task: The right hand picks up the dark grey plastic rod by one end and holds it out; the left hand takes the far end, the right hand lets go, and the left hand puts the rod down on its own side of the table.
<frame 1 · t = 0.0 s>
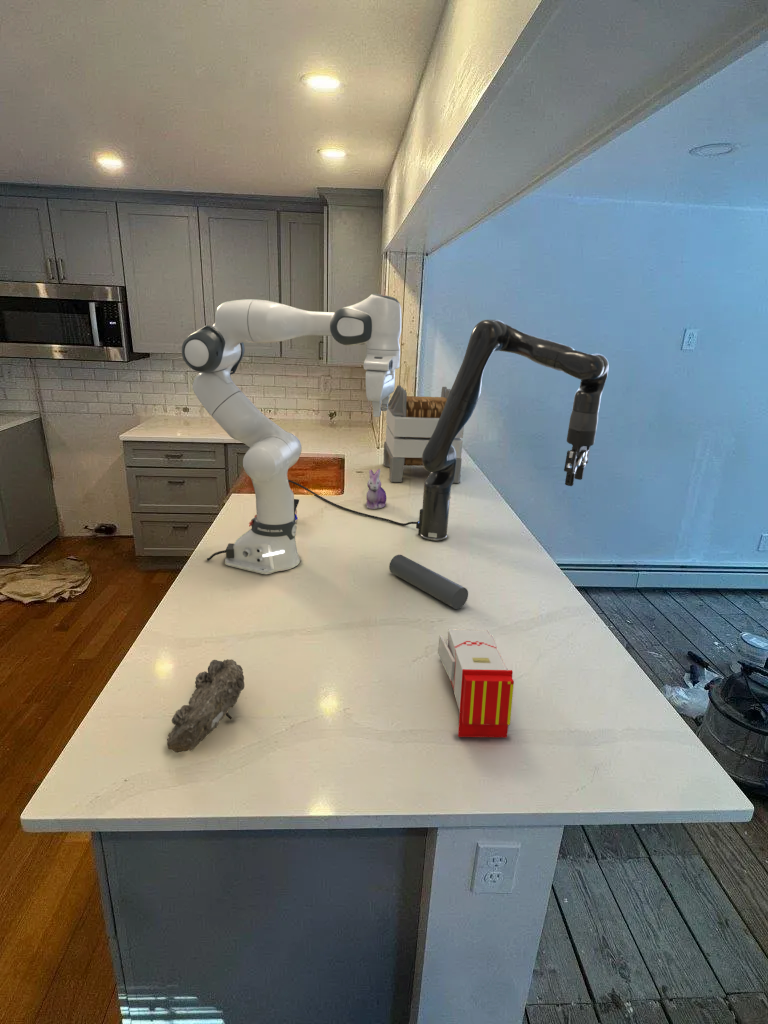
left hand: (380, 413, 153), 48 cm above the counter, tool pointing down, fingers open, 8 cm apart
right hand: (573, 482, 165), 29 cm above the counter, tool pointing down, fingers open, 8 cm apart
figurine: (375, 506, 227), on the counter
fossil: (212, 717, 108), on the counter
rod: (426, 590, 161), on the counter
white crate: (419, 473, 275), on the counter
toy: (469, 691, 119), on the counter
figurine character: (288, 523, 204), on the counter
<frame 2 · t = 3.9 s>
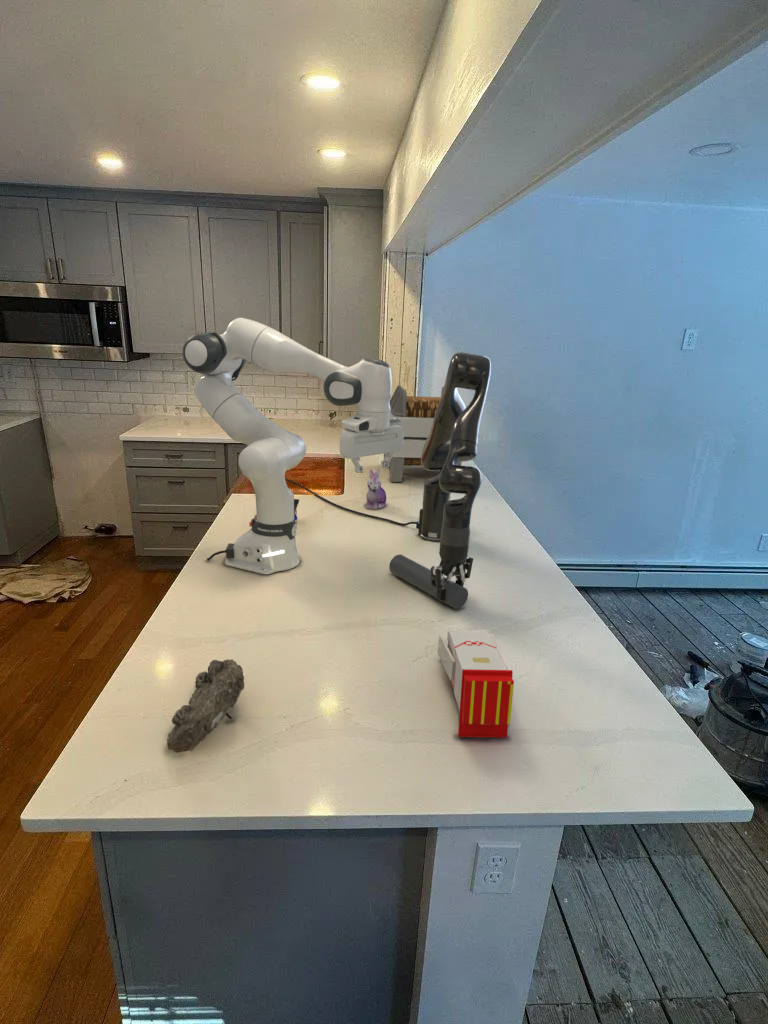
left hand: (372, 469, 158), 32 cm above the counter, tool pointing down, fingers open, 8 cm apart
right hand: (449, 596, 154), 2 cm above the counter, tool pointing down, fingers closed on rod, 6 cm apart
rod: (426, 590, 161), on the counter, touching right hand
everything else where it was.
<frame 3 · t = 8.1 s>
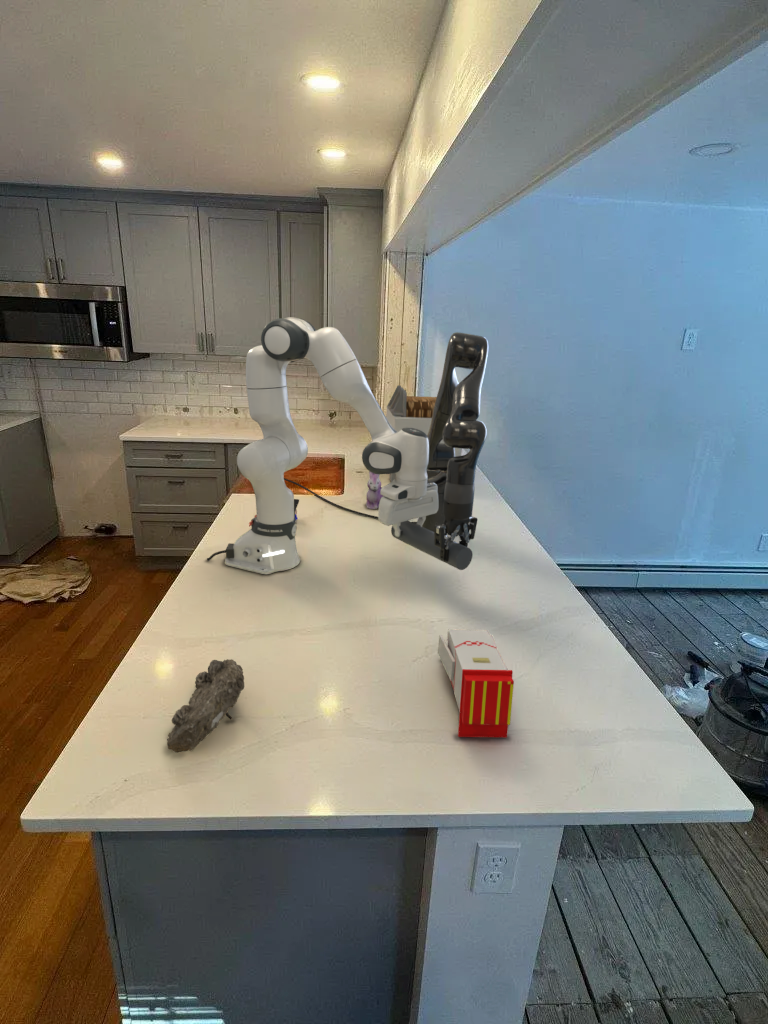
left hand: (408, 533, 162), 14 cm above the counter, tool pointing down, fingers closed on rod, 6 cm apart
right hand: (453, 557, 150), 13 cm above the counter, tool pointing down, fingers closed on rod, 6 cm apart
rod: (429, 552, 157), point 12 cm above the counter, touching right hand, left hand
everything else where it was.
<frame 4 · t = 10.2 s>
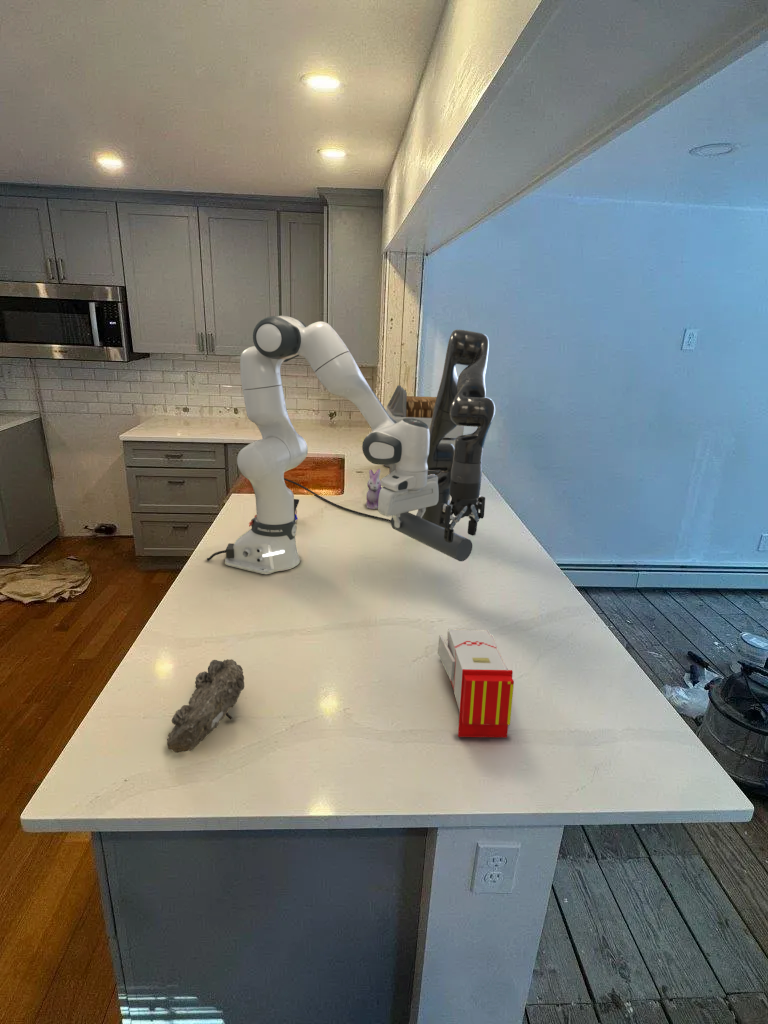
left hand: (407, 524, 161), 17 cm above the counter, tool pointing down, fingers closed on rod, 6 cm apart
right hand: (460, 538, 146), 20 cm above the counter, tool pointing down, fingers open, 8 cm apart
rod: (428, 544, 156), point 14 cm above the counter, touching left hand
everything else where it was.
when the left hand's fingers open (4 cm above the counter, at t = 15.7 s): rod stays where it is, on the counter.
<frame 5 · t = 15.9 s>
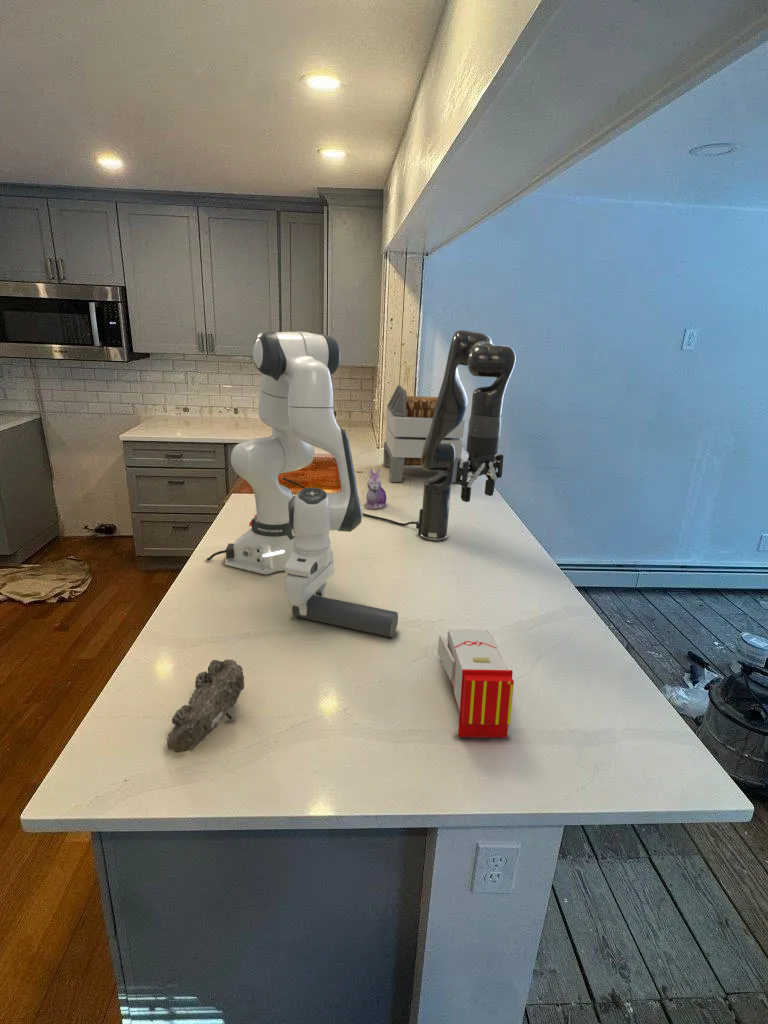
left hand: (312, 605, 143), 4 cm above the counter, tool pointing down, fingers open, 8 cm apart
right hand: (477, 498, 139), 32 cm above the counter, tool pointing down, fingers open, 8 cm apart
rod: (344, 624, 141), on the counter
everything else where it was.
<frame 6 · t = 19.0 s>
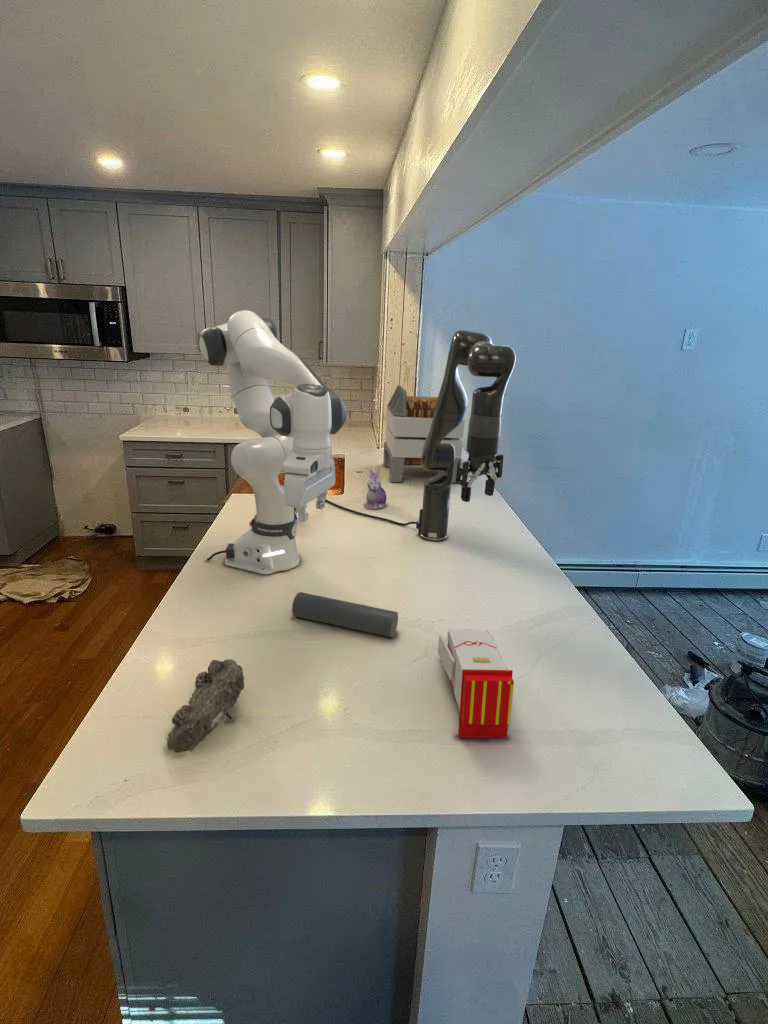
left hand: (312, 514, 134), 28 cm above the counter, tool pointing down, fingers open, 8 cm apart
right hand: (477, 498, 139), 32 cm above the counter, tool pointing down, fingers open, 8 cm apart
nothing on the counter moved.
at the end: rod inside the target area (8.8 cm from its centre), on the counter; the left hand is holding nothing; the right hand is holding nothing; rod at rest at the end (0.0 cm/s) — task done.
